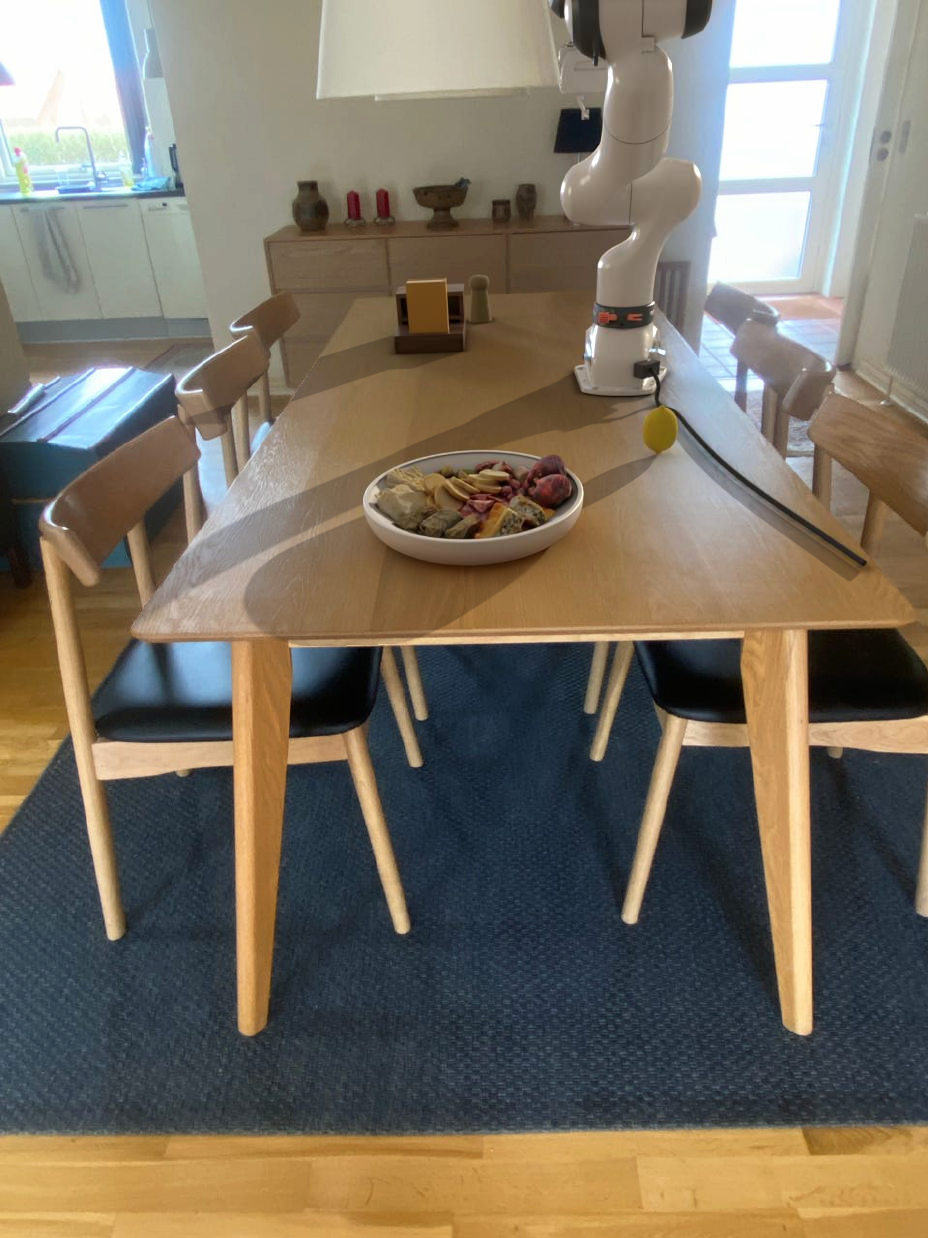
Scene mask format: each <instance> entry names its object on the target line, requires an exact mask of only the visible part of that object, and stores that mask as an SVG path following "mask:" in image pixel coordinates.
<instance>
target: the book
mask: <svg viewBox="0 0 928 1238" xmlns="http://www.w3.org/2000/svg"><path fill="white" fill-rule="evenodd" d="M447 284H448V283H447V277H439V278H437V277H435V278H416V279H415V278H414V279H413V278H412V279H406V282H405V286H406V295H407V308H408V320H409V333H433V332H448V330H449V320H448V301H447Z"/></svg>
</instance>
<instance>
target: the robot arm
mask: <svg viewBox="0 0 928 1238" xmlns="http://www.w3.org/2000/svg"><path fill="white" fill-rule="evenodd" d="M547 1H548V6H549V8H550V10H551V11H552V12H553V13H554V14H555V15H556V17H558V18H559V19H560V20H562V19H564V22H565V26H566V29H567V33H568V34H569V36H570V38H571V39H570V40H569V39H568V40H566V42H565V43H563V44H562V45H561V46H560V48H559V51H558V62H559V65H560V67H561V72H560V79H561V82H562V84H561V86H560V85H559V92H561V94H562V95H576V102H577V104H578V106H579V108H580V110H581V120H582V121H587V120H590V115H589V114H590V109H586V107H585V106H584V104H583V101H584V100H585V94H599V93H600V94H601V93H605V96H604V103H603V115H602V129H601V138H600V142H599V145H598V146H597V148H596V149H595V150H594V151H593V152H592V153H591V154H590V155H589V156H587V157H586V158H585V159H583V160H581V161H580V162H578V163H576V164H575V165H572V166H571V167H570V168H569V170H568V171H567V172H566V174H565V175H564V178H563V180H562V182H561V186H560V191H559V192H560V193H559V195H560V196H559V197H560V204H561V208H562V211H563V213H564V215H565V216H566V217H567V219H568V220H569V221H570V222H571V223H576V224H581V225H586V226H590V227H591V226H592V227H608V226H609V227H611V226H613V227H614V226H631V227H632V231H631V234H630V235H629V237H628V238H627V239H625V240H623V241H622V242H621V243H619V244H616V245H615V246H613V247H611V248H609V249H608V250H607V251H605V252H604V253H603V254H602V255H601V257H600V258H599V260H598V263H597V268H596V269H597V270H596V271H597V272H596V293H595V295H596V296H595V301H594V302H593V307H592V322H593V323H592V325H591V326H590V327H589V328H588V329H586V330H585V347H584V353H583V355H582V360H583V361H584V364H579V365H576V366H575V367H574V370H573V371H574V375H575V378H576V381H577V383H578V386H579V389H580V392H581V393H585V394H589V395H596V396H609V397H610V396H612V397H613V396H615V397H631V396H633V397H634V396H646V395H650V394H654V401H655V404H656V406H657V408H658V407H660V406H662V405H663V404H662V402H661V401H660V393H661V387H662V386H661V385H662V384H661V382H662V381H663V380H664V378H665V377H666V375H667V373H668V368H667V367H666V366H663V365H661V355H666V350H663V349H661V341H660V334H661V331H660V330H659V329H658V328H657V327H656V326H655V324H654V319H655V318H654V317H655V311H656V307H655V301H654V299H653V298H654V288H655V279H656V272H657V267H658V263H659V258H660V256H661V252H662V251H663V248H664V246H665V244H666V243H667V241H668V239H669V238H670V236H672V234H673V232H675V230H677V228H678V227H680V225H681V224H683V223H684V222H685V221H686V220H688V219H689V218H690V217H691V216H692V215H693V214H694V212H695V211H696V210H697V208H698V206H699V204H700V202H701V199H702V195H703V187H704V186H703V178H702V174H701V172H700V169H699V168H698V166H697V165H696V164H695V162H694V161H691V160H687V159H683V158H675V157H671V156H667V157H666V156H665V154H666V152H667V149H668V146H669V140H670V139H669V138H670V131H671V125H672V117H673V111H674V110H673V109H674V96H675V95H674V93H675V89H674V88H675V87H674V86H675V85H674V74H673V65H672V61H671V58H669V55H668V54H667V52H666V51H665V50H664V49H663V48H662V47H660V46H659V45H658V44H662V43H667V42H671V41H673V40H676V39H681V40H684V39H688V38H691V37H693V36H695V35H698V34H700V33H701V32H703V31H704V30H705V28H706V27H707V25H708V24H709V22H710V18H711V15H712V12H713V9H714V6H715V2H716V0H547ZM664 156H665V157H664ZM664 406H665V408H668V409H670V410H671V411H672V412H673V413H674V414H675V416H676V418H677V420H678V421H680V423H681V424H682V425H683V426H684V428H685V429H686V430H687V431H688V432H689V433H690V435H691V436H692V437H693V438H694V439H695V441H696V442H697V443H699V445H700V446H701V447H702V448H703V449H704V450H705V451H706V452H707V453H708V454H709V455H710V456H711V457H712V458H713V459H714V460H715V461H716V462H717V463H718V464H719V465H721V466H722V467H723V468H724V469H725V470H726V471H728V472H729V473H730V474H731V475H732V476H733V477H734V478H736V479H737V480H738V481H740V482H741V483H742V484H743V485H745V486H746V487H747V488H749V489H750V490H751V491H753V492H754V493H755V494H757V495H758V496H759V497H761V498H762V499H764V500H765V501H767V502H768V503H769V504H771V505H772V506H774V507H775V508H777V509H778V510H779V511H781V512H782V513H784V514H785V515H787V516H788V517H790V518H791V519H792V520H794V521H796V522H797V523H798V524H800V525H801V526H803V527H804V528H806V529H808V530H809V531H810V532H812V533H813V534H815V535H816V536H818V537H819V538H821V539H823V540H824V541H825V542H827V543H828V544H830V545H831V546H833V547H834V548H836V549H837V550H838V551H840V552H841V553H842V554H844V555H846V556H847V557H849V558H850V559H851V560H853V561H854V562H855V563H857V564H859V566H861V567H865V566H866V565H867V564H868V561H867V560H866V559H865V558H863V557H861V556H860V555H859V554H857V553H856V552H854V551H853V550H852V549H850V548H849V547H847V546H846V545H844V544H843V543H841V542H840V541H839V540H837V539H835V538H834V537H832V536H831V535H829V534H828V533H826V532H825V531H824V530H822V529H821V528H819V527H818V526H816V525H814V524H813V523H811V522H810V521H809V520H807V519H805V518H804V517H802V515H799V514H798V513H796V511H794V510H792V509H790V508H789V507H788V506H786V505H784V504H783V503H781V502H780V501H778V500H777V499H775V498H774V497H772V496H771V495H770V494H768V493H766V492H765V491H764V490H762V489H761V488H760V487H759V486H757V485H756V484H755V483H753V482H752V481H750V480H749V479H748V478H747V477H745V476H744V475H742V474H741V473H740V472H739V471H738V470H736V469H735V468H734V467H733V466H732V465H730V464H729V463H728V462H727V461H726V460H725V459H723V457H722V456H720V455H719V454H718V453H717V452H716V451H715V450H714V449H713V448H712V447H711V446H710V444H708V443H707V442H706V441H705V440H704V439H703V438H702V437H701V435H700V434H699V433H698V432H697V431H696V430H695V429H694V428H693V426H691V425H690V423H689V422H688V421H687V420H686V418H685V416H683V414H681V412H679V411H678V410H677V409H675V408H673V407H670V406H666V405H664Z"/></svg>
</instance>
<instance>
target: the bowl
mask: <svg viewBox="0 0 928 1238" xmlns="http://www.w3.org/2000/svg"><path fill="white" fill-rule="evenodd" d="M583 501H584V488H583V485H582V482H581V480H580V479H579V477H578V476H577V475H576V474H575V473H573V472H572V471H571V470H570V469H568V468H567V467H566V464H565V461H564V459H563V458H562V457H561V456H559V455H558V454H553V453H552V454H551V453H550V454H546V455H543V456H542V457H541V456H537V455H533V454H529V453H523V452H517V451H510V450H509V451H508V450H497V449H495V450H494V449H475V450H474V449H471V450H459V451H450V452H442V453H437V454H432V455H426V456H423V457H419V458H416V459H413V460H410V461H406V462H404V463H401V464H399V465H396V466H394V467H392V468H390V469H388V470H387V471H384V472H383V473H382V474H380V475H379V476H377V477H376V478H375V479H374V480H373V481H372V482H370V484H369V485H368V486H367V488H366V489H365V492H364V495H363V497H362V505H363V511H364V516H365V519H366V521H367V524H368V526H369V527H370V529H371V530H372V532H373V533H374V534H375V535H376V537H377V538H378V539H379V540H380V541H382V543H384V544H385V545H387V546H388V547H390V548H391V549H393V550H394V551H396V552H399V553H400V554H403V555H405V556H407V557H411V558H412V559H413V558H414V559H416V560H419V561H424V562H429V563H434V564H440V565H447V566H448V565H449V566H485V565H493V564H494V565H495V564H501V563H506V562H511V561H515V560H519V559H523V558H525V557H528V556H531V555H535V554H537V553H538V552H539V553H540V552H542V551H543V550H545V549H547V548H549V547H551V546H552V545H554V544H556V543H557V542H558V541H560V540H561V539H562V538H563V537H564V536H566V534H567V533H569V532H570V530H572V528H573V527H574V526H575V524H576V522H577V521H578V519H579V517H580V514H581V512H582V508H583V503H584V502H583Z"/></svg>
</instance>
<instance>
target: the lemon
mask: <svg viewBox="0 0 928 1238" xmlns="http://www.w3.org/2000/svg"><path fill="white" fill-rule="evenodd" d="M665 406H666V405H663V404H662V406H660V407H658V406H657V407H656V408H654V409H651V410H650V411H649V412H648V413H647V415H646V416H645V418H644V420H643V424H642V430H641V431H642V440H643V444H645V446H646V447H647V448H648V450H650V451H653V452H654V453H655V454H656V455H660V454H662V452H665V451H668V450H669V449H670V448H671V447H672V446H673V445H674V444H675V443H676V440H677V438H678V433H679V422H678V417H677V416H676V415H675V414H674V413H673V412H672V411H671V410H670V409H668V408H665Z"/></svg>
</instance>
